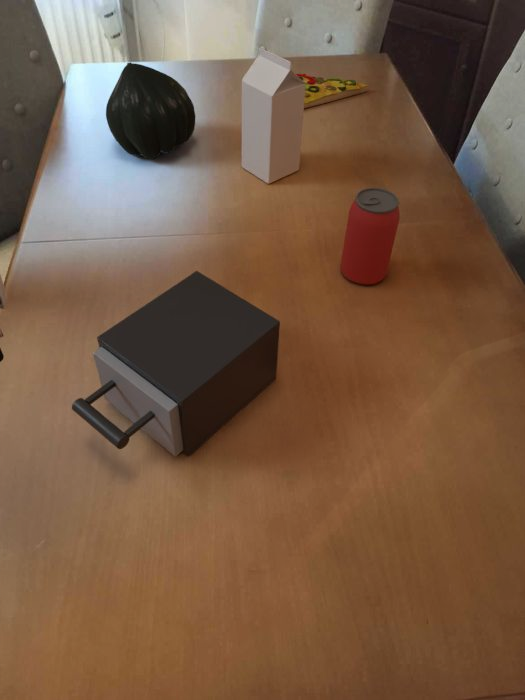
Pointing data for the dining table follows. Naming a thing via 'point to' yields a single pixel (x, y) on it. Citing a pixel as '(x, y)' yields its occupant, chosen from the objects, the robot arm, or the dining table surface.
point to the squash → (149, 112)
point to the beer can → (370, 235)
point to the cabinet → (199, 352)
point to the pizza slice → (328, 89)
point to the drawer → (131, 405)
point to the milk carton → (271, 118)
